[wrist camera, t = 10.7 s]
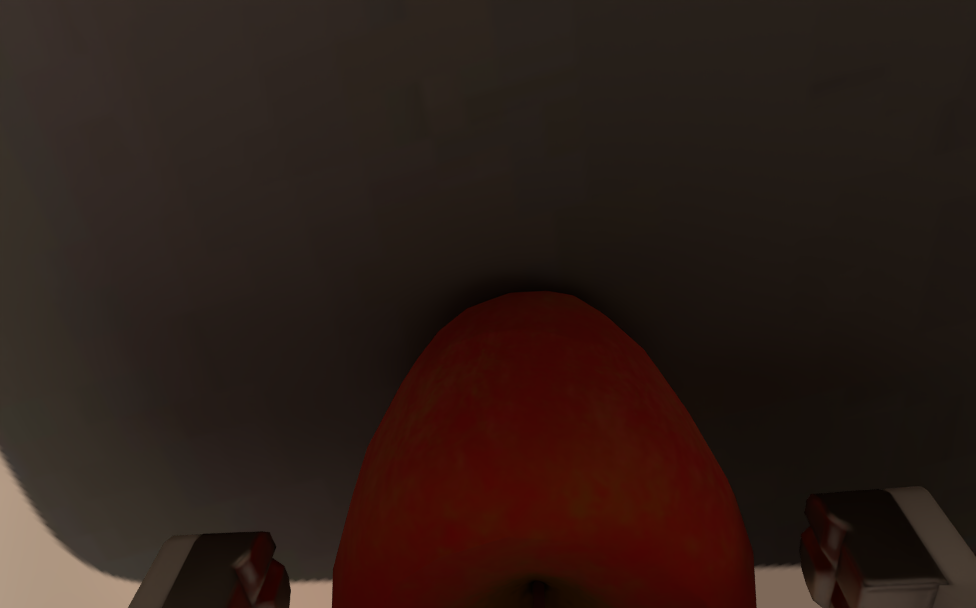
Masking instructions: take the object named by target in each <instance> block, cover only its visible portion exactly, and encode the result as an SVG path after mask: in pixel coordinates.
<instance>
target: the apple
mask: <svg viewBox="0 0 976 608" xmlns="http://www.w3.org/2000/svg"><path fill="white" fill-rule="evenodd" d="M332 590H333V591H332V608H756V591H755V573H754V556H753V550H752V547H751V544H750V541H749V537H748V534H747V531H746V528H745V525H744V522H743V519H742V516H741V513H740V510H739V507H738V504H737V500H736V497H735V495H734V493H733V491H732V488H731V486H730V484H729V482H728V480H727V478H726V476H725V474H724V472H723V471H722V469H721V467H720V465H719V464H718V462H717V460H716V459H715V457H714V455H713V453H712V452H711V450H710V448H709V447H708V445H707V443H706V441H705V440H704V438H703V436H702V434H701V433H700V431H699V429H698V428H697V426H696V424H695V422H694V421H693V419H692V417H691V415H690V414H689V412H688V411H687V409H686V408H685V406H684V405H683V404H682V402H681V401H680V399H679V398H678V396H677V395H676V394H675V392H674V391H673V389H672V388H671V386H670V385H669V384H668V382H667V381H666V379H665V378H664V377H663V375H662V374H661V372H660V371H659V370H658V368H657V367H656V366H655V364H654V363H653V361H652V360H651V359H650V357H649V356H648V355H647V353H646V352H645V350H644V349H643V348H642V347H641V346H639V345H638V344H637V343H636V342H635V341H634V340H633V339H632V338H630V337H629V336H628V335H627V334H626V333H625V332H624V331H623V330H621V329H620V328H619V327H618V326H617V325H616V324H615V323H614V322H612V321H611V320H610V319H609V318H608V317H607V316H605V315H604V314H603V313H601V312H600V311H598V310H597V309H595V308H593V307H592V306H590V305H588V304H587V303H585V302H584V301H582V300H580V299H579V298H577V297H575V296H574V295H569V294H563V293H557V292H551V291H533V292H514V293H507V294H505V295H502V296H499V297H496V298H494V299H491V300H488V301H486V302H483V303H480V304H478V305H475V306H472V307H470V308H467V309H466V310H464V311H463V312H462V313H461V314H459V315H458V316H457V317H456V318H454V319H453V320H452V321H451V322H449V323H448V324H447V325H446V326H444V327H443V328H442V329H441V330H439V331H438V333H437V334H436V335H435V336H434V338H433V339H432V340H431V342H430V343H429V344H428V346H427V347H426V348H425V350H424V351H423V352H422V353H421V355H420V356H419V357H418V359H417V360H416V362H415V363H414V365H413V366H412V368H411V370H410V371H409V373H408V374H407V376H406V377H405V379H404V380H403V382H402V383H401V385H400V387H399V389H398V391H397V393H396V394H395V396H394V398H393V400H392V402H391V404H390V406H389V408H388V410H387V411H386V413H385V415H384V417H383V419H382V421H381V423H380V425H379V427H378V428H377V430H376V432H375V434H374V436H373V438H372V440H371V442H370V444H369V445H368V447H367V451H366V454H365V457H364V460H363V463H362V467H361V470H360V473H359V476H358V479H357V483H356V486H355V489H354V492H353V496H352V499H351V503H350V507H349V511H348V514H347V518H346V522H345V526H344V530H343V533H342V537H341V541H340V545H339V549H338V552H337V556H336V560H335V564H334V568H333V589H332Z"/></svg>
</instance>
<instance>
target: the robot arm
mask: <svg viewBox="0 0 976 608" xmlns="http://www.w3.org/2000/svg"><path fill="white" fill-rule="evenodd" d="M804 513H805V515H806V517H807V520H808V522H809V524H810V526H809V527H808V528H807V529H806V530H805V531H804V532H803V533H802V534H801V540H800V549H799V551H800V559H801V568H802V572H803V575H804V579H805V582H806V585H807V587H808V590H809V592H810V594H811V597H812V599H813V601H815V602H816V603H817V604H818V605H820V606H821V607H822V608H976V556H975V555H974V553H973V552H972V551H971V549H970V548H969V546H968V545H967V544H966V542H965V541H964V540H963V538H962V537H961V535H960V534H959V533H958V531H957V530H956V529H955V527H954V526H953V524H952V523H951V522H950V520H949V519H948V518H947V516H946V515H945V513H944V512H943V511H942V509H941V508H940V507H939V505H938V504H937V502H936V501H935V500H934V498H933V497H932V496H931V494H930V493H929V491H927V490H926V489H924V488H923V487H921V486H914V487H900V488H886V489H882V490H881V489H869V490H856V491H843V492H830V493H817V494H810V496H809V497H808V499H807V500H806V505H805V511H804ZM275 549H276V545H275V543H274V541H273V539H272V536H271V534H270V532H263V531H260V532H235V533H210V534H195V535H174V536H172V537H171V538H169V539H168V540H167V541H166V542H165V543H164V544H163V545H162V547H161V549H160V551H159V553H158V554H157V556H156V558H155V560H154V562H153V563H152V565H151V567H150V569H149V571H148V573H147V574H146V576H145V578H144V580H143V582H142V583H141V585H140V587H139V589H138V591H137V592H136V594H135V596H134V598H133V600H132V601H131V603H130V605H129V607H128V608H289V605H290V593H291V589H290V583H289V576H288V574H287V571H286V569H285V566H284V565H282V564H281V563H279V562H278V561H276V560H275V559H273V558H272V557H273V555H274V552H275Z"/></svg>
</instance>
